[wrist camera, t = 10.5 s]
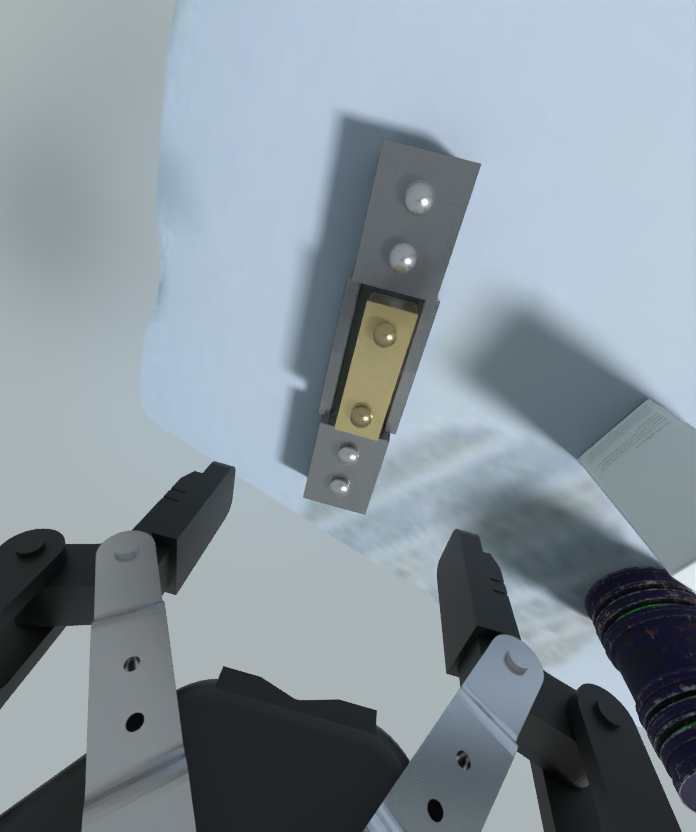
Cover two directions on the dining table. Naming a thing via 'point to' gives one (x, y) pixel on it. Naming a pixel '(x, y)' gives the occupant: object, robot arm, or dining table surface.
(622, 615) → the dark purple cylinder
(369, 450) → the chain end
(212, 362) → the dining table surface
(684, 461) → the supplement box
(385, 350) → the link
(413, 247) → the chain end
